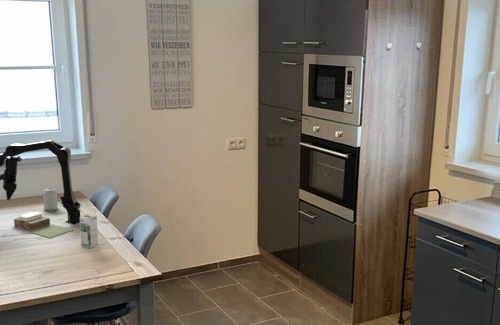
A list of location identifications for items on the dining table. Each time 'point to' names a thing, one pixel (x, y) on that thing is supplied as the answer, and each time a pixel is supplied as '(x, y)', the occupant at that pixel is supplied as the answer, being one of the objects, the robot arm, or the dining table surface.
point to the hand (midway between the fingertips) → (8, 197)
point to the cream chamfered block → (30, 216)
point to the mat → (50, 231)
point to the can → (50, 199)
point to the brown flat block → (32, 223)
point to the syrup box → (88, 231)
